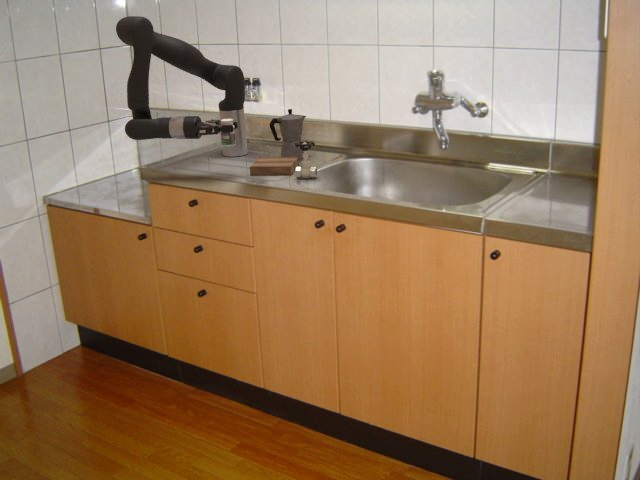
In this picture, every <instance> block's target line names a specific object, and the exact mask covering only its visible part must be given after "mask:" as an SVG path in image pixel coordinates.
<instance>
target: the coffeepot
mask: <svg viewBox="0 0 640 480" xmlns="http://www.w3.org/2000/svg"><path fill="white" fill-rule="evenodd" d="M287 113H288V114H285V115H282V116H279V117H274V118H272V119H271V121H270V122H269V124H268V125H269V128H270V131H271V133H272V135H273V138H274V141H275V142H279V141H281V139H282V141H281V149H280V157H298V160H299V161H301V160H302V161H303V159H304V158H303V155H302V154H303V153H304V151H302V150H301V149H300V146H299V147H296V146H295V142H299V141H302V135H303V124H304V120H305V119H306V118H307V115H302V114H294V113H293V109H292V108H291V109H290V108H289V109H287ZM276 124H278V126H279V130H280V135H281V137H282V138H281V137H278V133H277V131H276V127H275V125H276Z"/></svg>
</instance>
